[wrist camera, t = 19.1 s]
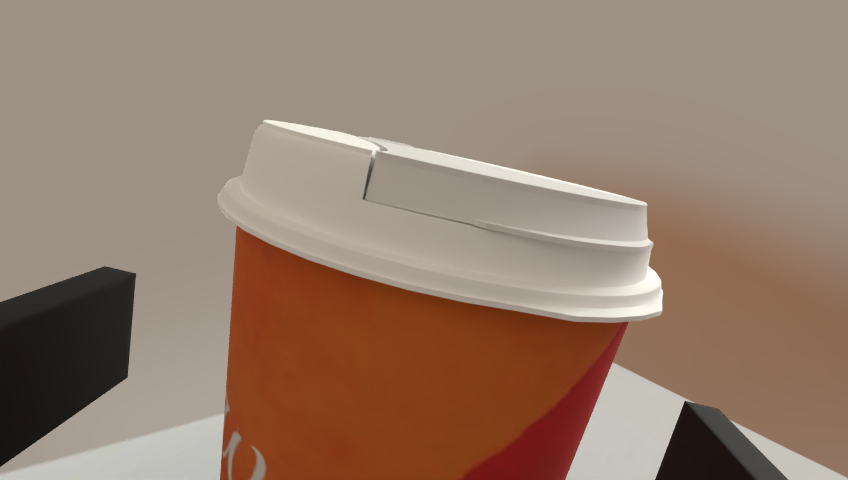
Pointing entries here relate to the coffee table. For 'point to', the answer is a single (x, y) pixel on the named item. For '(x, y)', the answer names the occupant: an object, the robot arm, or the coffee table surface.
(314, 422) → the coffee cup
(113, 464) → the coffee table surface
